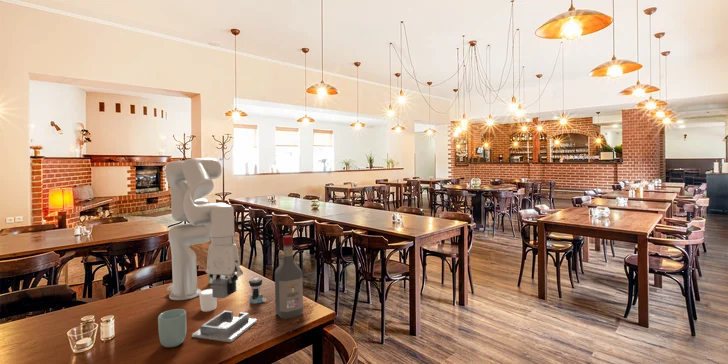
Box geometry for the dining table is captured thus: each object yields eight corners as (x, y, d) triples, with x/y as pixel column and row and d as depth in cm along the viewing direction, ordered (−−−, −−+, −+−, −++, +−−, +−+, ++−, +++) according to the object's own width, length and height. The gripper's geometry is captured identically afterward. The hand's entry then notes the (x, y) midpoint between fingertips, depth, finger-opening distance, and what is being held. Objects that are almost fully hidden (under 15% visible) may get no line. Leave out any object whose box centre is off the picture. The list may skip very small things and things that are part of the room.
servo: (210, 298, 117) (209, 279, 117) (227, 289, 126) (226, 271, 125) (221, 299, 116) (221, 280, 116) (238, 290, 125) (237, 272, 124)
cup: (166, 339, 115) (165, 309, 115) (191, 337, 116) (189, 308, 115) (154, 351, 107) (153, 319, 107) (180, 349, 108) (179, 318, 108)
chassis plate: (192, 337, 116) (191, 326, 116) (221, 317, 131) (220, 308, 131) (231, 342, 113) (230, 331, 112) (256, 321, 127) (256, 312, 127)
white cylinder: (221, 306, 142) (221, 289, 141) (209, 313, 135) (208, 295, 135) (208, 304, 144) (207, 287, 144) (195, 310, 138) (194, 293, 137)
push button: (267, 299, 148) (266, 276, 148) (264, 304, 143) (263, 280, 142) (251, 300, 148) (250, 277, 147) (248, 305, 143) (247, 281, 142)
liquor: (305, 315, 132) (303, 236, 131) (281, 320, 128) (279, 239, 126) (296, 306, 140) (295, 233, 139) (274, 312, 135) (272, 235, 134)
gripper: (194, 242, 119) (196, 294, 119) (238, 243, 114) (239, 298, 115) (209, 237, 126) (211, 287, 127) (250, 239, 122) (252, 290, 122)
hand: (224, 292), depth 121 cm, fingers closed on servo, 4 cm apart
